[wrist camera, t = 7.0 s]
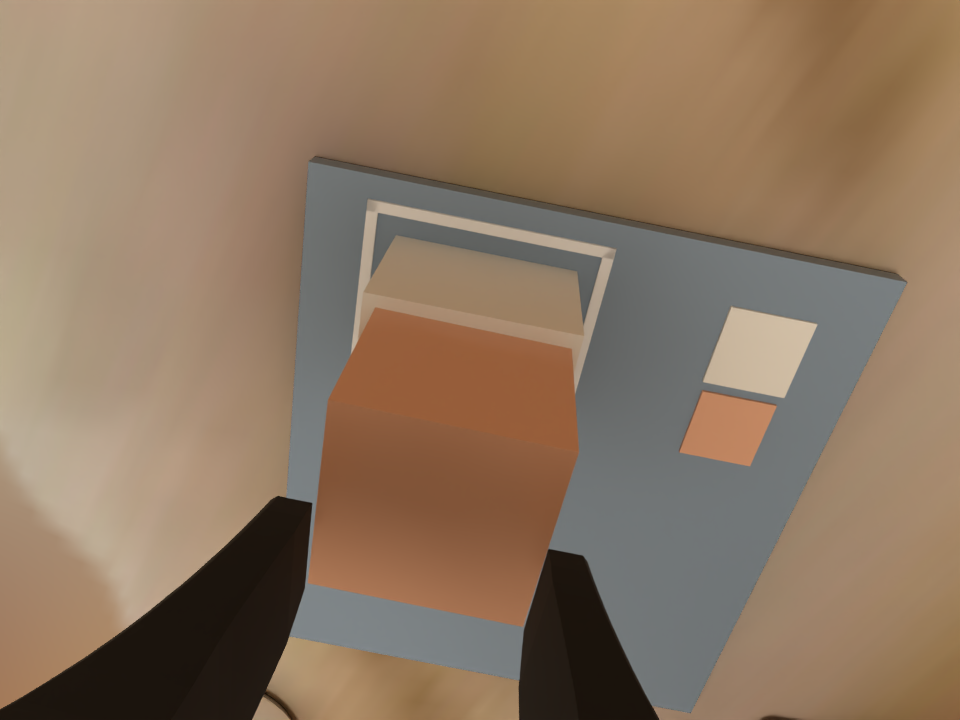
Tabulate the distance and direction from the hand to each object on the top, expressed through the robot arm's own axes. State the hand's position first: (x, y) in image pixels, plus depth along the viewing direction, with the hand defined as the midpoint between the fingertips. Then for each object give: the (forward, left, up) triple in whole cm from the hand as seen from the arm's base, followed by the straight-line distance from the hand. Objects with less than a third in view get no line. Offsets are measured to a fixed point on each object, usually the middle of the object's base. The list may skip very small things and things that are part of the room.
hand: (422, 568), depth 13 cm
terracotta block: (0, 0, -5) cm, 5 cm away
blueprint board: (-3, +5, -10) cm, 11 cm away
